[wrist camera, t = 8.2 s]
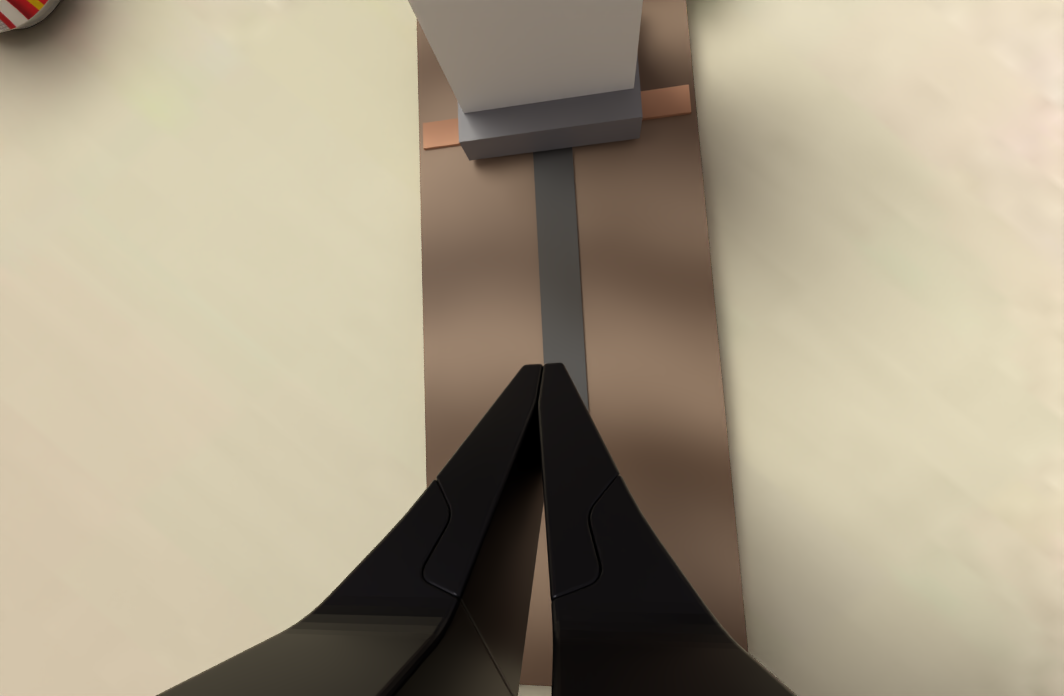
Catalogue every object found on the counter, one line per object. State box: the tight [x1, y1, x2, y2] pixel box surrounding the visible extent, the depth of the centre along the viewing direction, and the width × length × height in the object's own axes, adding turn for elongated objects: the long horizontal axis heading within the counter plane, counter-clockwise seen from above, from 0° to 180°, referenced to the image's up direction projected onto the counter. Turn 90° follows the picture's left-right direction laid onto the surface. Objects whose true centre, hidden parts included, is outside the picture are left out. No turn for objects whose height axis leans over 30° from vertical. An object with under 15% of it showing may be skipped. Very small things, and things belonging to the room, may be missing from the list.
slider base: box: [417, 0, 748, 686], centre depth 15 cm, size 26×10×4 cm, turn 3°
